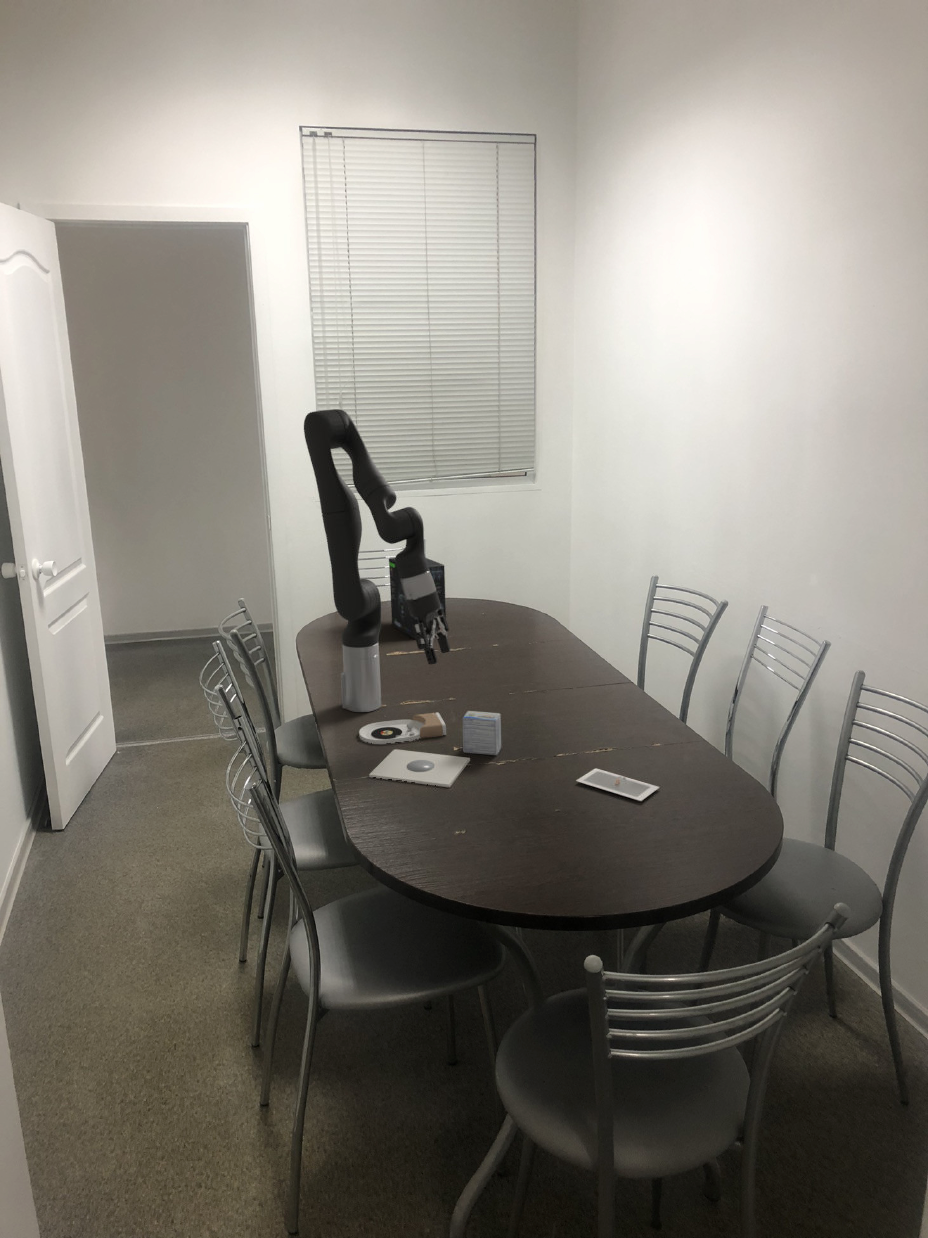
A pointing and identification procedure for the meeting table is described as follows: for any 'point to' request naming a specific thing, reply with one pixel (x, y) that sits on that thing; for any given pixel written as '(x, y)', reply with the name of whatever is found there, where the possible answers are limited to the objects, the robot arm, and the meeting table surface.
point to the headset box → (398, 601)
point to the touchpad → (618, 784)
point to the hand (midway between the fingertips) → (439, 657)
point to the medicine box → (482, 732)
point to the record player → (404, 729)
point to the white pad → (420, 767)
